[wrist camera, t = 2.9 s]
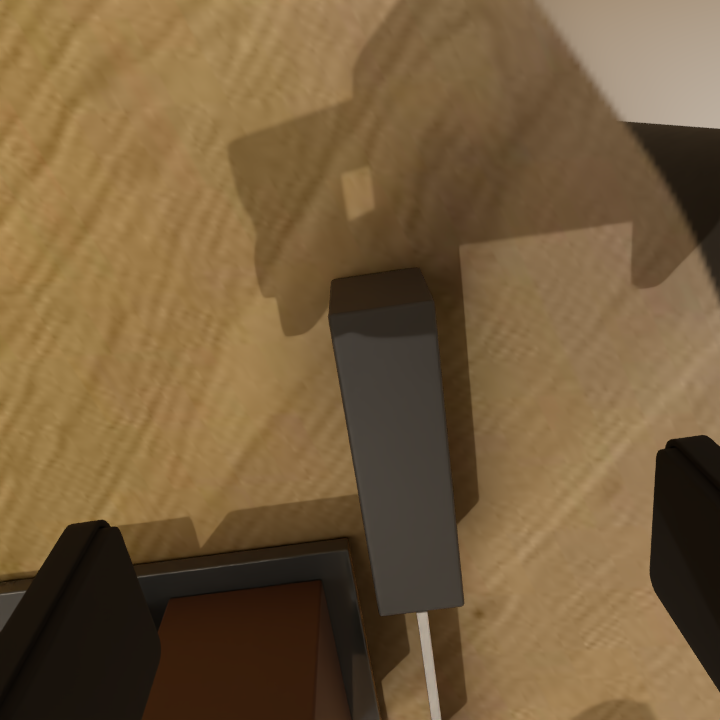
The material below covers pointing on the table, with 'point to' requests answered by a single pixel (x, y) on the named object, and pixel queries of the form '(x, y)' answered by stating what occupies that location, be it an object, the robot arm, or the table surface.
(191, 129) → the table surface
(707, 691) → the table surface
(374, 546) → the knife
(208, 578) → the board
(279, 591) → the cake
